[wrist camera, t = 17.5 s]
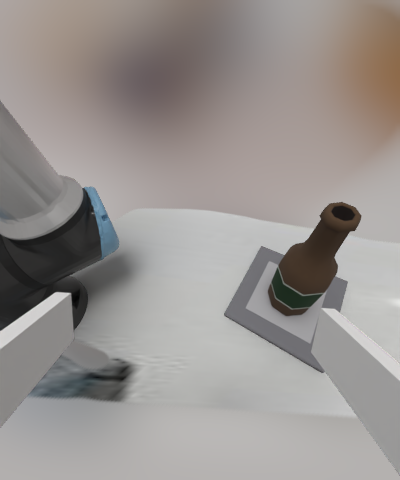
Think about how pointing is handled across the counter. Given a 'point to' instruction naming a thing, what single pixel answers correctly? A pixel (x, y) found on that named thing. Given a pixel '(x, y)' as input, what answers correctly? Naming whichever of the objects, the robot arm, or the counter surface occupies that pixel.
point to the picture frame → (271, 320)
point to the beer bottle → (312, 262)
